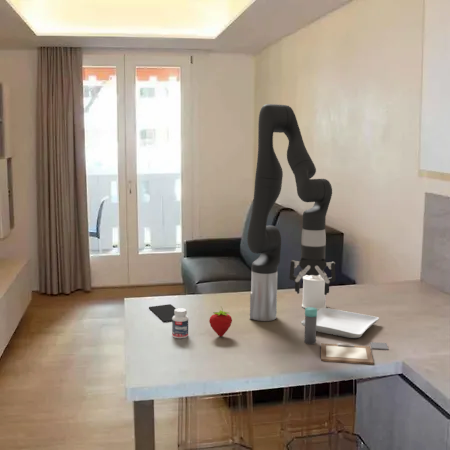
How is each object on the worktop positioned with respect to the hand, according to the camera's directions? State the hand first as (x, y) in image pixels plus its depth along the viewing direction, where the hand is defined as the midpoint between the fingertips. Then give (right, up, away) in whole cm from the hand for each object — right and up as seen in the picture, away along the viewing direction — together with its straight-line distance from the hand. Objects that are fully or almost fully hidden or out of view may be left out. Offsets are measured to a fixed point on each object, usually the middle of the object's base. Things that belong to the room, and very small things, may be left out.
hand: (311, 293), depth 189 cm
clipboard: (+9, -18, -7) cm, 21 cm away
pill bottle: (-42, -15, +7) cm, 45 cm away
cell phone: (-48, -11, +30) cm, 58 cm away
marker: (0, -16, +3) cm, 16 cm away
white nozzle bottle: (+7, -10, +40) cm, 42 cm away
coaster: (+21, -17, -1) cm, 27 cm away
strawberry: (-29, -15, +7) cm, 33 cm away
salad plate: (+12, -14, +17) cm, 25 cm away
